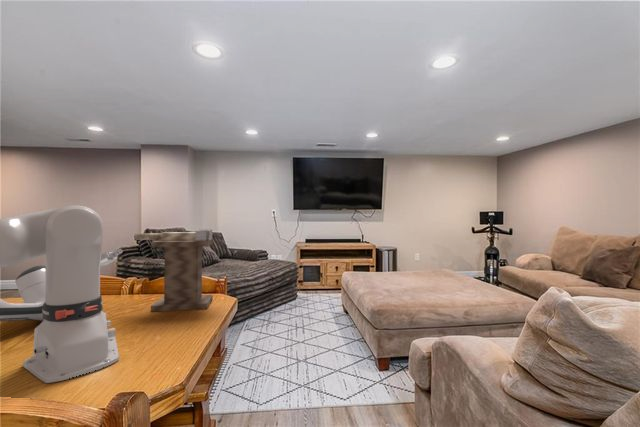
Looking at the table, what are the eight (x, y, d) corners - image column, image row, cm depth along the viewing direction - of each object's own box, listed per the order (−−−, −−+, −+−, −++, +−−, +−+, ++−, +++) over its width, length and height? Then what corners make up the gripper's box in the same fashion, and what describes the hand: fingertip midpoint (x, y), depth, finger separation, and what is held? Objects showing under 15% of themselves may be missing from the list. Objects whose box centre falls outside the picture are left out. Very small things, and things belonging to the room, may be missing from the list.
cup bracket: (195, 240, 114) (195, 230, 114) (199, 239, 122) (199, 229, 122) (208, 240, 115) (208, 230, 115) (212, 239, 123) (212, 229, 123)
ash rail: (133, 241, 112) (133, 233, 112) (137, 240, 116) (138, 232, 116) (204, 240, 117) (204, 232, 117) (206, 239, 121) (206, 232, 121)
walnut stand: (150, 311, 109) (151, 241, 109) (161, 301, 121) (162, 238, 121) (207, 308, 113) (207, 241, 113) (212, 299, 125) (213, 238, 125)
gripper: (99, 272, 121) (131, 255, 123) (67, 285, 101) (105, 263, 103) (91, 259, 120) (123, 242, 122) (56, 269, 100) (95, 248, 102)
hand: (115, 252), depth 112 cm, fingers open, 8 cm apart
